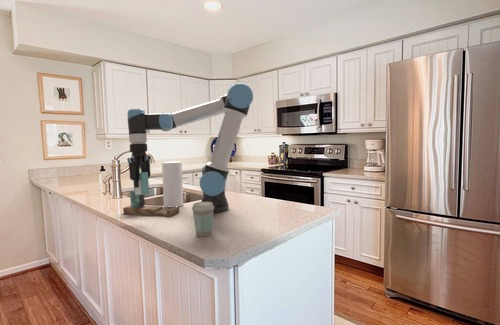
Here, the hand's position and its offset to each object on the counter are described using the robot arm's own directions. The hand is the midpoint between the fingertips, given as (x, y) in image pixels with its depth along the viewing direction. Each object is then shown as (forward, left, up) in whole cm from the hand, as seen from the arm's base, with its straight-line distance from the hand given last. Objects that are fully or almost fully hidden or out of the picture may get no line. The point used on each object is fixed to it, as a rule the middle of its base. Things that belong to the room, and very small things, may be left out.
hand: (141, 193), depth 129 cm
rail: (+3, -11, -12) cm, 17 cm away
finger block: (0, 0, 0) cm, 0 cm away
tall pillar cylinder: (+1, -29, -13) cm, 32 cm away
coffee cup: (-38, +13, -13) cm, 42 cm away
